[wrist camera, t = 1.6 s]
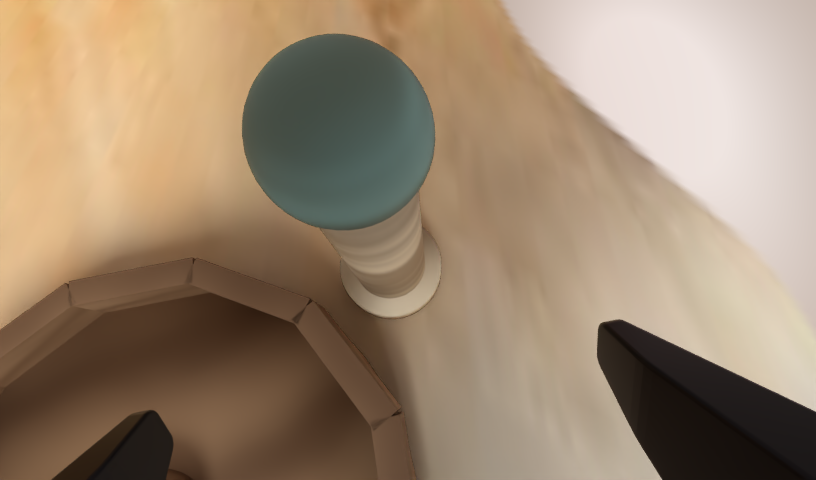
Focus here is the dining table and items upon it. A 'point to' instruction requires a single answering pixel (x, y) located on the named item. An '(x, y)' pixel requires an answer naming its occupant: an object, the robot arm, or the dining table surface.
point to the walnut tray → (195, 379)
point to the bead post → (350, 162)
